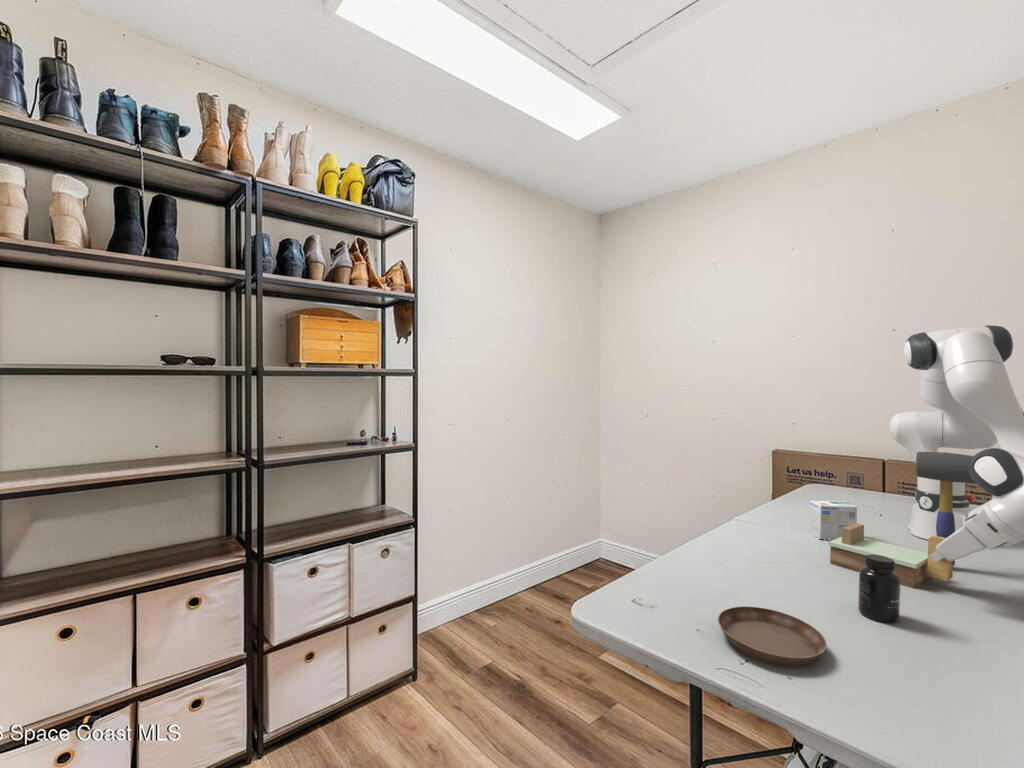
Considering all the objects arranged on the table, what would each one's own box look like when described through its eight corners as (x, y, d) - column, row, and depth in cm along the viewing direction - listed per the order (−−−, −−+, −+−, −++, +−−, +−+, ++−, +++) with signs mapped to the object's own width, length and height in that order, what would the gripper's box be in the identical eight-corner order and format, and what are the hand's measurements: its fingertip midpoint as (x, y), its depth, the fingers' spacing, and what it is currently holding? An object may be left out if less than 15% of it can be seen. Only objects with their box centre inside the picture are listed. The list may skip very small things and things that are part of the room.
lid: (848, 537, 135) (849, 519, 135) (933, 558, 120) (934, 538, 120) (828, 545, 129) (829, 526, 129) (915, 568, 113) (916, 547, 113)
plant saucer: (834, 643, 91) (834, 626, 91) (815, 688, 77) (815, 669, 77) (734, 612, 102) (734, 597, 102) (703, 646, 89) (703, 630, 89)
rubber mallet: (977, 569, 125) (979, 453, 125) (978, 578, 120) (980, 457, 120) (914, 557, 134) (916, 448, 133) (912, 565, 128) (914, 451, 128)
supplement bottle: (902, 627, 96) (903, 567, 96) (859, 618, 100) (860, 559, 99) (897, 613, 102) (898, 556, 102) (857, 605, 105) (858, 549, 105)
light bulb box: (844, 534, 153) (845, 500, 153) (857, 542, 147) (858, 506, 146) (808, 533, 154) (809, 499, 154) (820, 540, 148) (820, 505, 147)
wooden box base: (849, 555, 135) (849, 539, 135) (931, 578, 120) (931, 559, 120) (830, 563, 129) (830, 546, 129) (914, 588, 114) (914, 569, 114)
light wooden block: (933, 572, 117) (933, 535, 117) (952, 577, 114) (953, 539, 114) (927, 576, 115) (928, 538, 115) (947, 581, 112) (948, 542, 112)
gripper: (994, 505, 114) (940, 535, 123) (966, 520, 103) (909, 552, 111) (1021, 529, 111) (963, 558, 119) (995, 548, 99) (933, 578, 108)
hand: (936, 555), depth 115 cm, fingers closed on light wooden block, 4 cm apart
